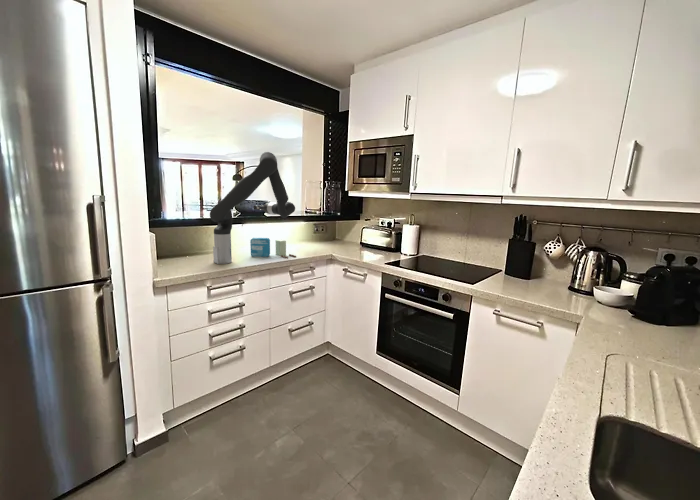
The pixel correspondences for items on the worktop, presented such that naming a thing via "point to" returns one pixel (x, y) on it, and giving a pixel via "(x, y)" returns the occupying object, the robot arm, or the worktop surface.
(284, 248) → the sage block
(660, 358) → the worktop surface
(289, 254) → the chute
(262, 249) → the data package
